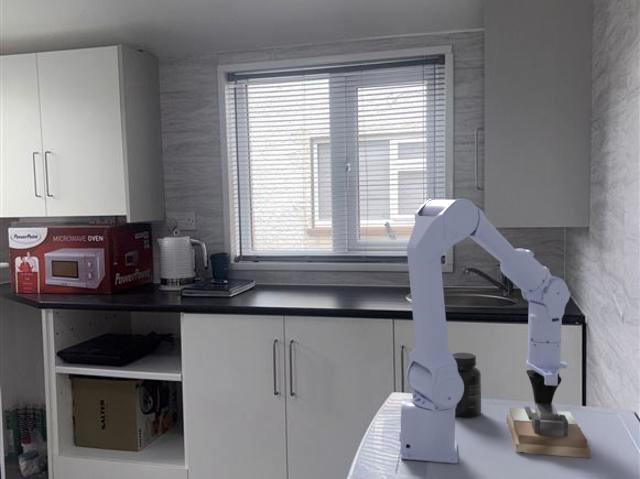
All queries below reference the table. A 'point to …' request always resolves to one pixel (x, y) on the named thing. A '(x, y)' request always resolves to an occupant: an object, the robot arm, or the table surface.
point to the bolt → (546, 411)
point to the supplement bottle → (468, 386)
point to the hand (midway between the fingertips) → (542, 410)
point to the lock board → (546, 434)
